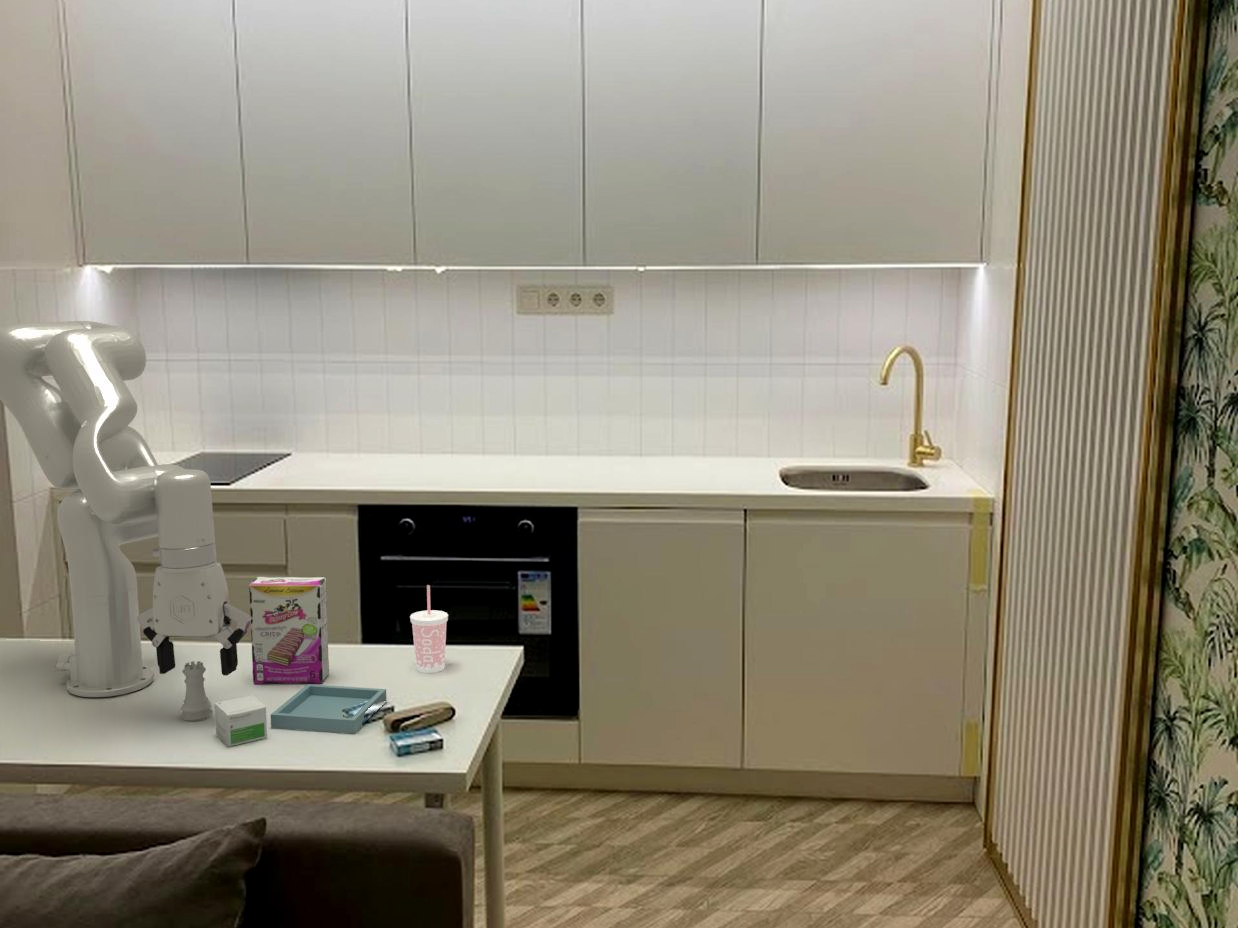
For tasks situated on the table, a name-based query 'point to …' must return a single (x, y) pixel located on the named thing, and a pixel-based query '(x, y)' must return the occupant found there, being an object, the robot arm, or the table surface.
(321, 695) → the tray
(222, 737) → the small box
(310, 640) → the candy bar box
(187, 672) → the rook chess piece
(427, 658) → the beverage cup
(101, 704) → the table surface
